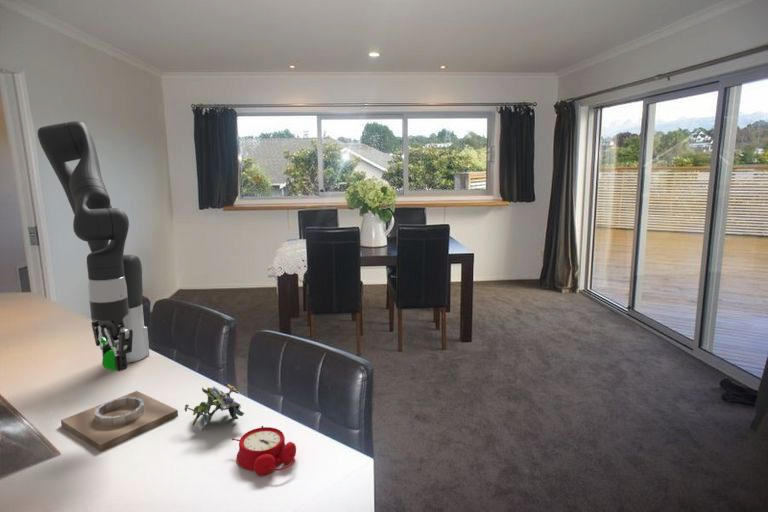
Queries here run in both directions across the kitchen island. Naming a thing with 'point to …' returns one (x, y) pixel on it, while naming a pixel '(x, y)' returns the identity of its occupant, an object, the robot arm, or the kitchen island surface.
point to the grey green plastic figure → (217, 404)
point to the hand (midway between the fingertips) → (115, 366)
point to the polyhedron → (109, 360)
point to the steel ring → (120, 418)
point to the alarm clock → (264, 450)
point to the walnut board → (113, 435)
